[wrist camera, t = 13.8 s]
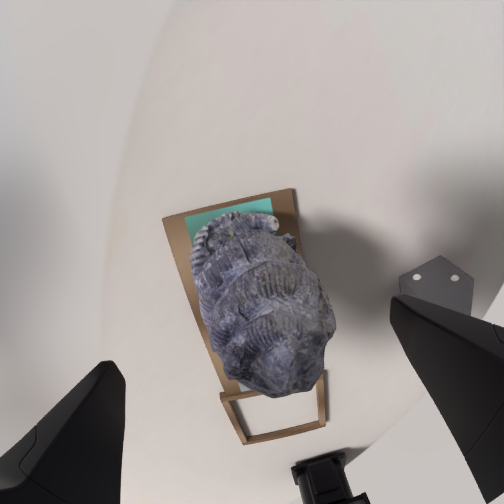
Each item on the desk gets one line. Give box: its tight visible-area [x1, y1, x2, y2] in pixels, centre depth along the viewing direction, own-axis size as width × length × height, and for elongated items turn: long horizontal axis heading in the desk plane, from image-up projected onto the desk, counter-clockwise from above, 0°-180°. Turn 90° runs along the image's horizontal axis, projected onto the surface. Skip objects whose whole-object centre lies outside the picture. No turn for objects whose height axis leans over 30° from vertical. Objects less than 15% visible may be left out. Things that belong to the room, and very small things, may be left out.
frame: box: [220, 373, 326, 445], centre depth 22 cm, size 8×8×1 cm
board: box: [162, 188, 302, 395], centre depth 18 cm, size 15×7×1 cm, turn 11°
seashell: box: [189, 211, 336, 398], centre depth 12 cm, size 5×5×10 cm
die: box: [399, 255, 474, 316], centre depth 17 cm, size 4×4×4 cm
